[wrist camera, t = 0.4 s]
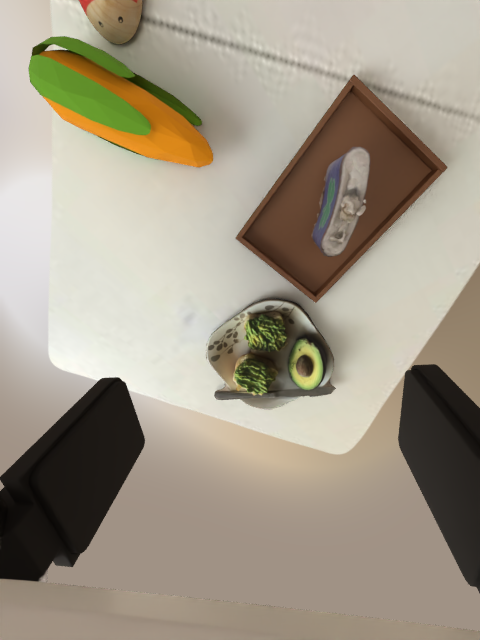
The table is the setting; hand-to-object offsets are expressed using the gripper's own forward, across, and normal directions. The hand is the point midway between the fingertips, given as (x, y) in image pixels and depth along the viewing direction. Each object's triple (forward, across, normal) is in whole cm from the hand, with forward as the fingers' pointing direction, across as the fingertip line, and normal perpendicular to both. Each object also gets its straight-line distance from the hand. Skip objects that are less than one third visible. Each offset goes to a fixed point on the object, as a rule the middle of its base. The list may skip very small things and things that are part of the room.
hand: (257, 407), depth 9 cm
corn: (+29, +14, -17) cm, 36 cm away
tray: (+29, -7, -5) cm, 30 cm away
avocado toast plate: (+29, +1, +14) cm, 33 cm away
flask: (+29, -7, -5) cm, 30 cm away
